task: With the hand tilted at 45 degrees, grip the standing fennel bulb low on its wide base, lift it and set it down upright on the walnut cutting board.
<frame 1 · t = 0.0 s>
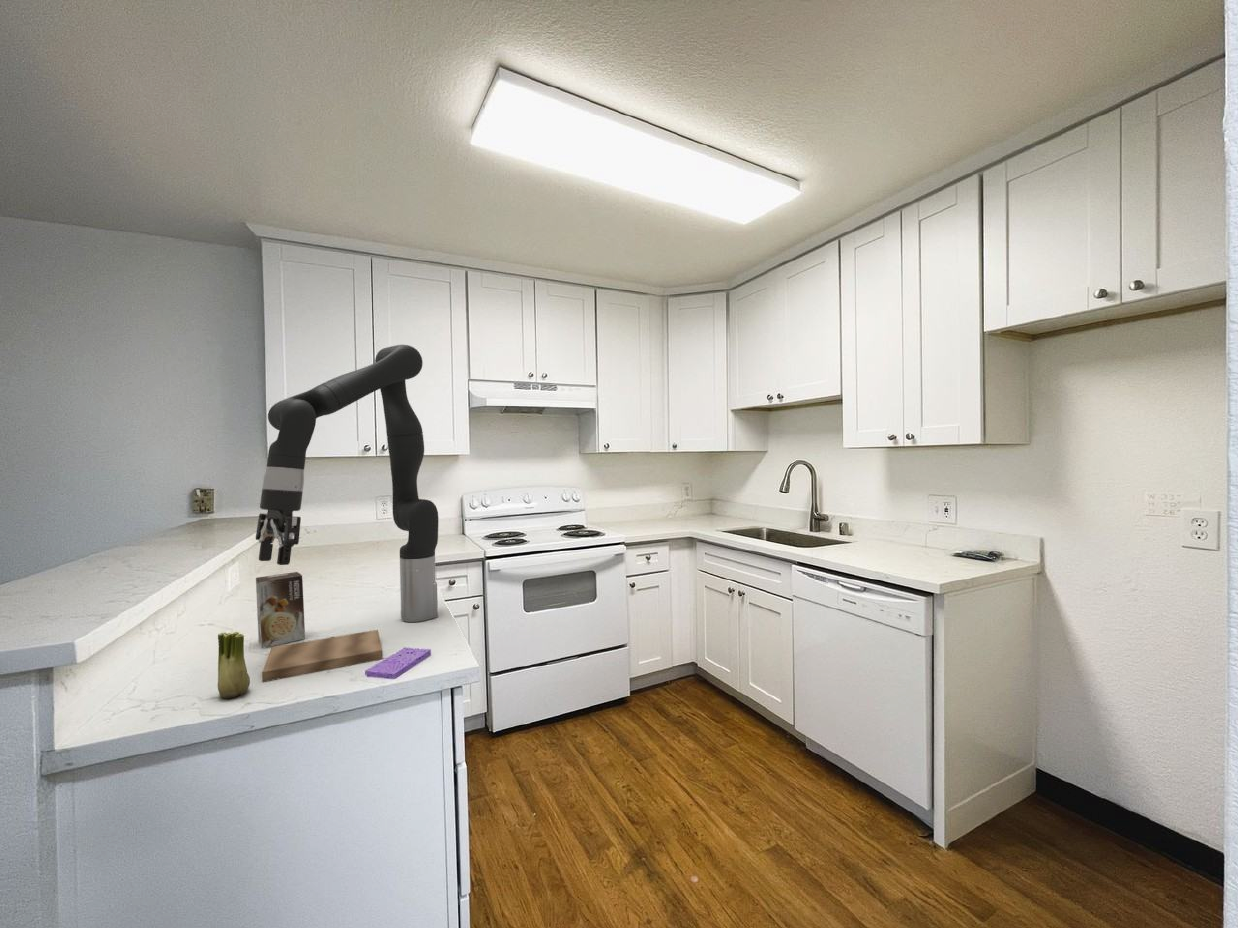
hand: (273, 562, 109), 22 cm above the counter, tool pointing down, fingers open, 8 cm apart
fennel bulb: (234, 695, 96), on the counter
cutting board: (326, 657, 113), on the counter
sponges: (399, 668, 108), on the counter
food box: (281, 641, 123), on the counter
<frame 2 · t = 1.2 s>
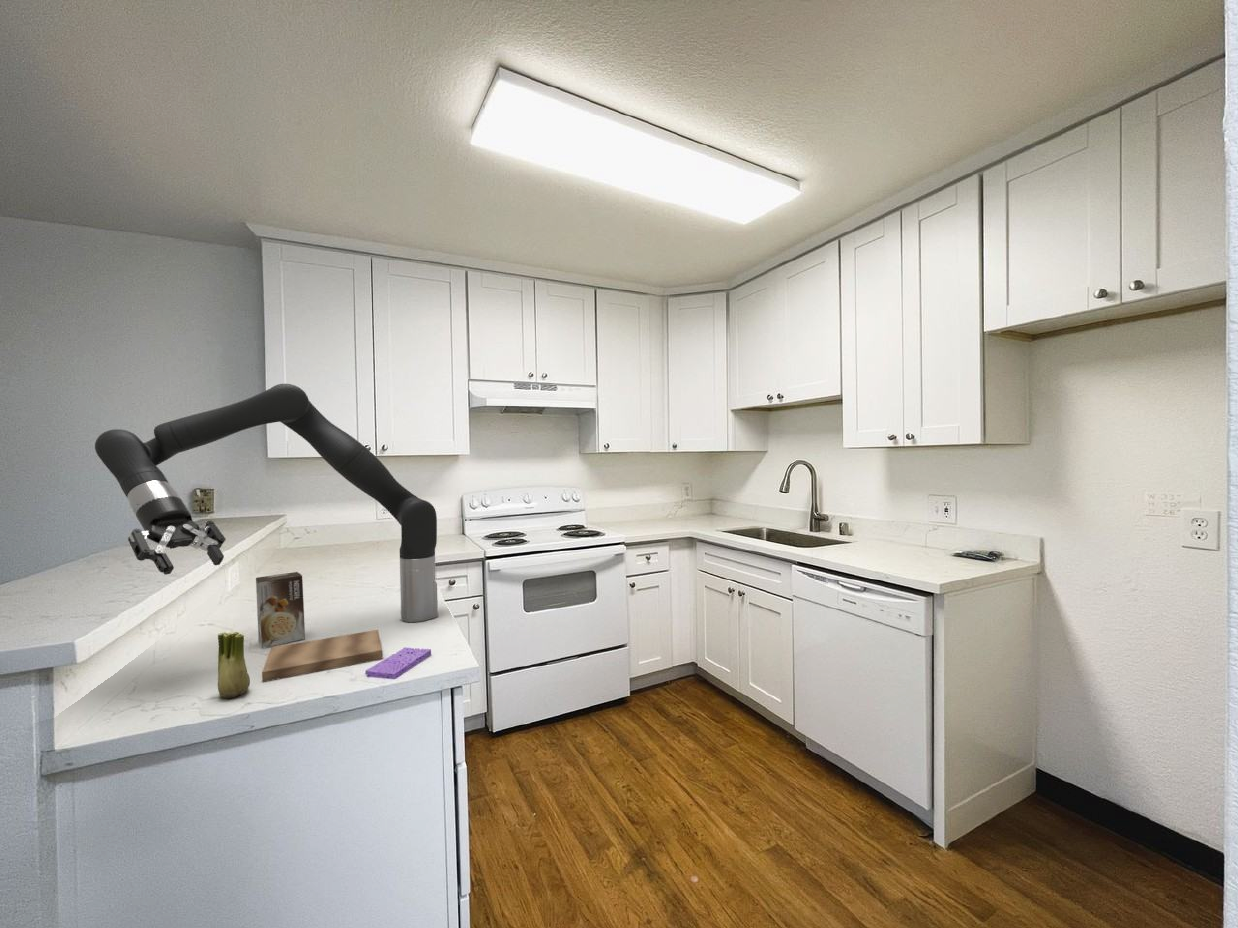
hand: (195, 566, 99), 24 cm above the counter, tool tilted 45°, fingers open, 8 cm apart
nothing on the counter moved.
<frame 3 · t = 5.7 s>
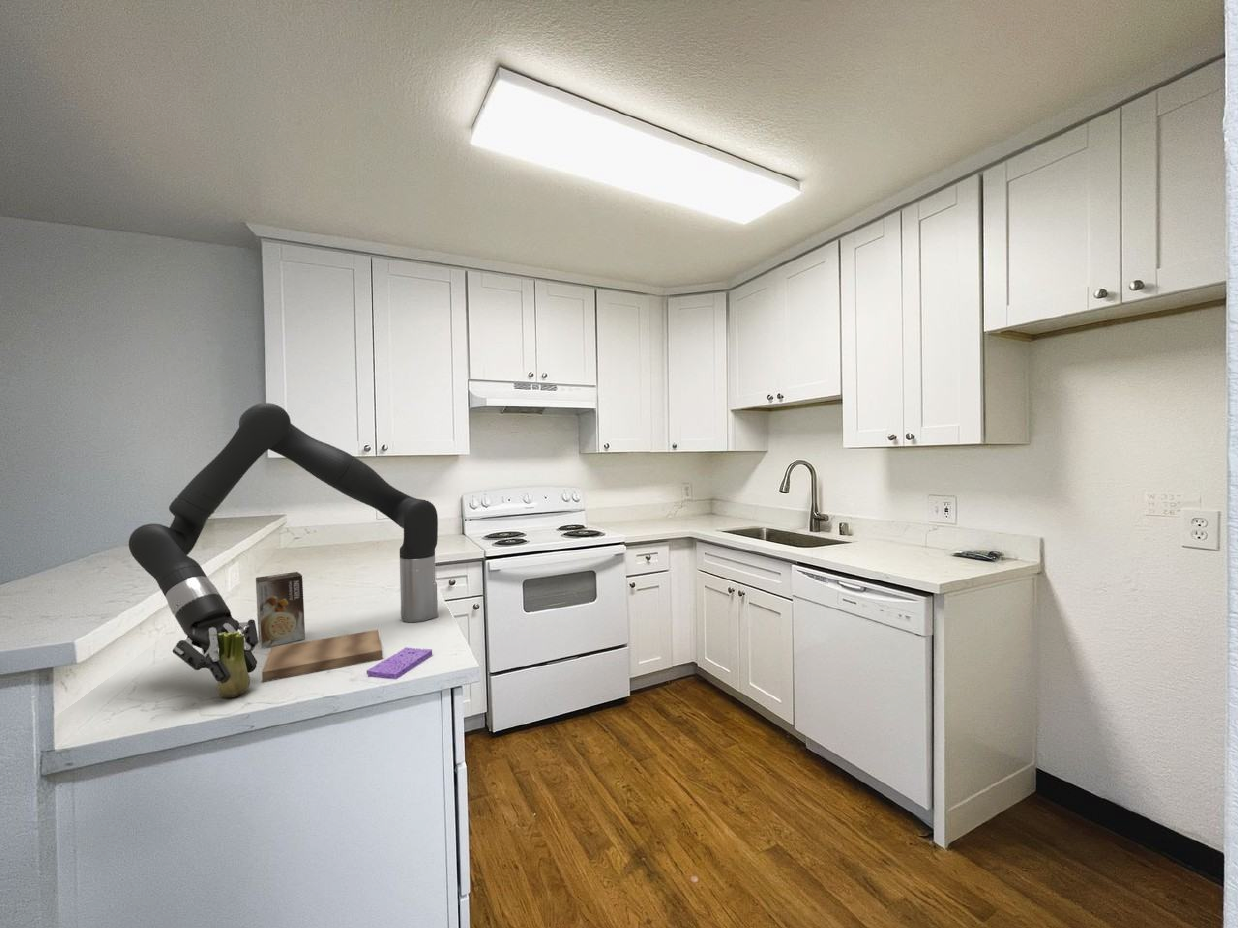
hand: (239, 674, 95), 4 cm above the counter, tool tilted 45°, fingers closed on fennel bulb, 4 cm apart
fennel bulb: (234, 695, 96), on the counter, touching gripper
everything else where it was.
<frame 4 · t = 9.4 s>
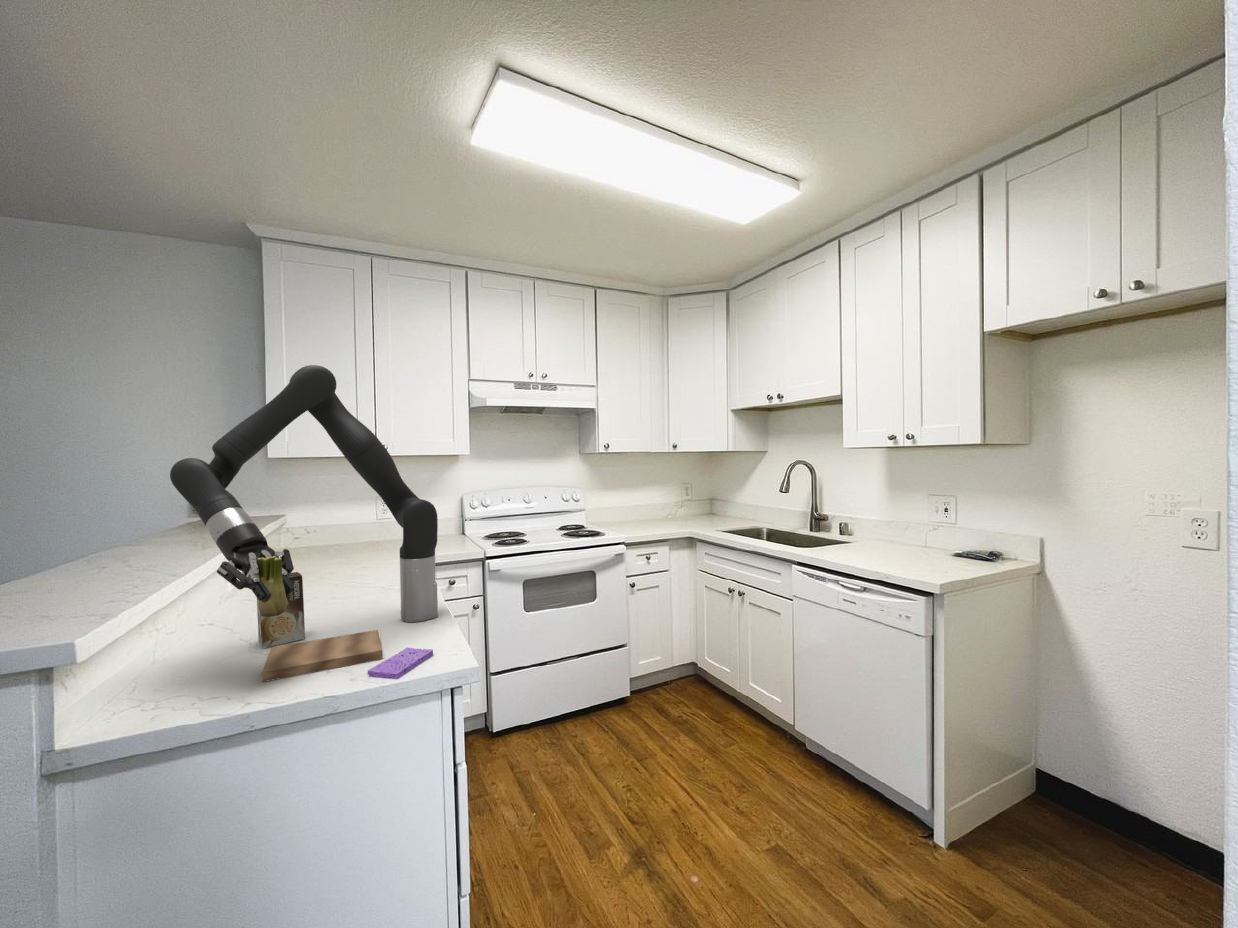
hand: (279, 595, 101), 17 cm above the counter, tool tilted 45°, fingers closed on fennel bulb, 4 cm apart
fennel bulb: (273, 615, 102), point 13 cm above the counter, touching gripper
everything else where it was.
when the fingers open (7 cm above the counter, at t = 13.2 s): fennel bulb drops 1 cm, resting on cutting board.
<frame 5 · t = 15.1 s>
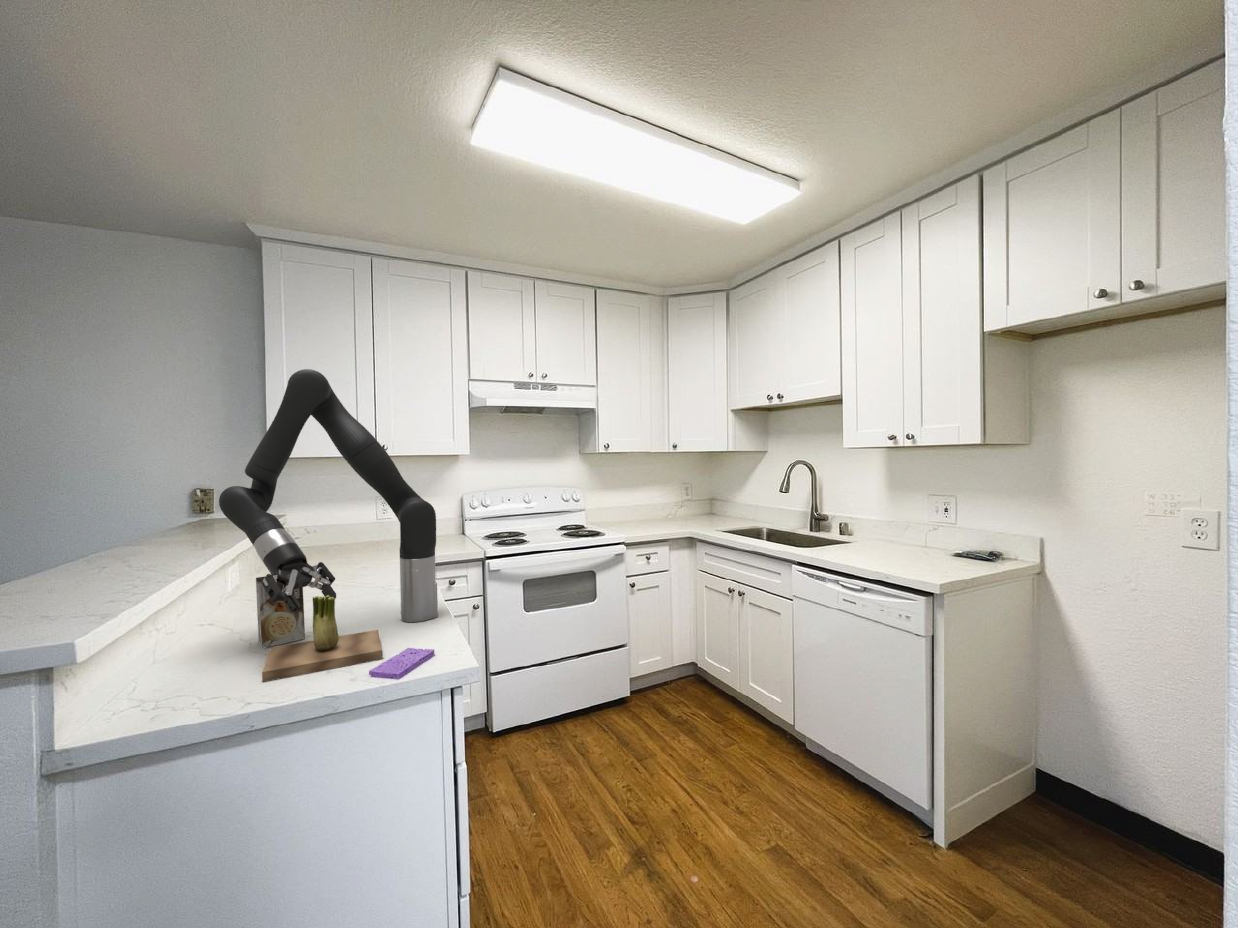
hand: (316, 605, 113), 12 cm above the counter, tool tilted 45°, fingers open, 8 cm apart
fennel bulb: (326, 649, 113), point 2 cm above the counter, touching cutting board
everything else where it was.
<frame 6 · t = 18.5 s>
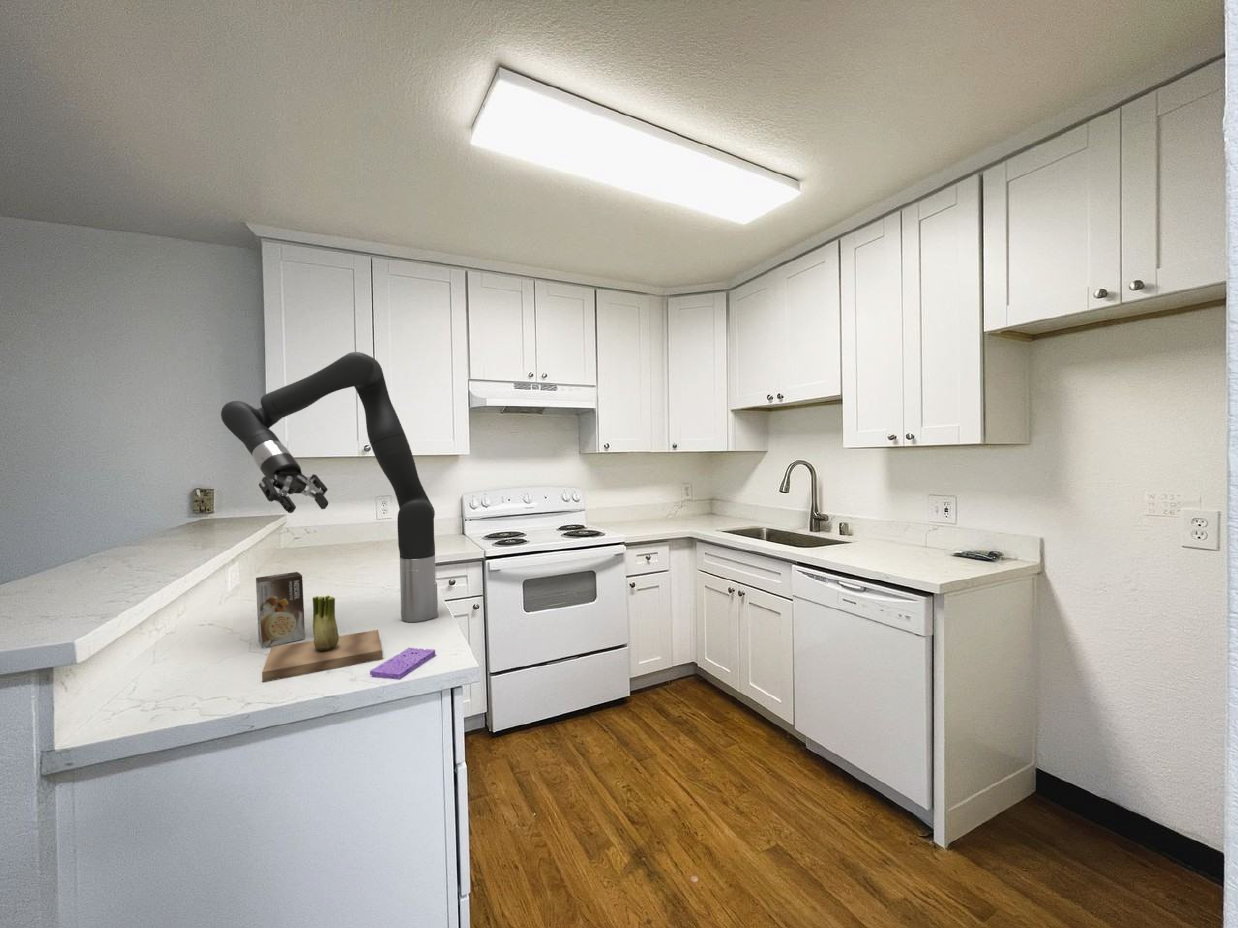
hand: (309, 508, 123), 33 cm above the counter, tool tilted 45°, fingers open, 8 cm apart
at the end: fennel bulb inside the target area on the cutting board (0.3 cm from its centre), point 1.8 cm above the cutting board's base; fennel bulb tilted 0°; the gripper is holding nothing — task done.
